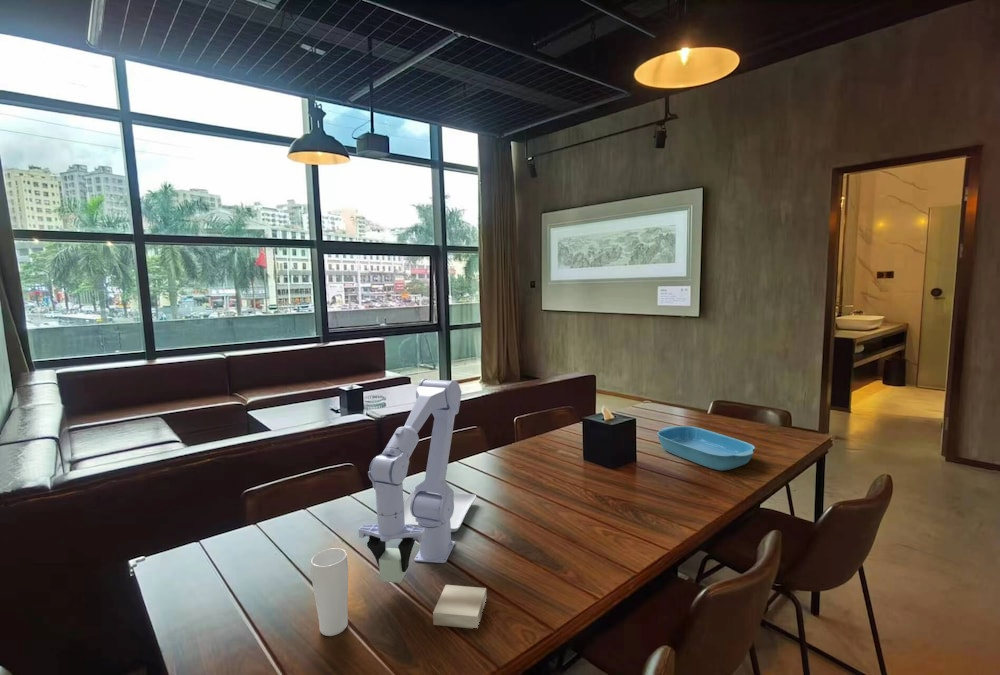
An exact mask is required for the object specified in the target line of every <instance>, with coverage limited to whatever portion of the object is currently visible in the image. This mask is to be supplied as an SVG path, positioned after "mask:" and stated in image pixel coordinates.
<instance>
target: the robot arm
mask: <svg viewBox="0 0 1000 675" xmlns="http://www.w3.org/2000/svg"><path fill="white" fill-rule="evenodd" d="M415 398H416V400H415V403H414V404H413V407H412V409H411V410H410V413H409V415H408V417H407V419H406V421H405V424H404V426H403V425H402V426H399V427H397V428H396V429H395V431H394V433H393V435H392V436H391V438H390V439H389V441H388V443H387V444H386V446H385V448H384V450H383V451H382V452H381V454H378V455H376V456H374V458H373V459H372V460H371V462H370V464H369V467H368V468H369V471H367V475H368V478H369V480H370V481H371V483H372V489H373V490H374V491H375V502H376V503H375V504H376V517H377V520H376V521H377V523H375V524H362V525H361V526H360V527H359V528H358V538H360V539H361V538H362V539H364V538H365V537H369V538H368V541H367V542H366V545H367V548H368V549H369V550H370V551H371V553H372V554H373V556H374V558H375V561H376V563H377V566H378V567H379V558H380V557H381V556H382V554H383V553H384V552H385V550H386V549H387V547H386V543H387V542H390V541H392V540H398V539H401V541H400V542H399V543H398V546H397V548H399V551H400V555H401V567H402V572H406V570H407V569H408V570H409V564H410V557H411V554H412V550H413V548H414V545H415V542H416V540H417V542H418V544H419V545H418V546H419V550H418V552H417V554H416V555H415V557H414V559H413V560H414V562H421V563H437V564H446V562H447V561H448V559H449V556H450V554H451V552H452V550H453V548H454V546H455V544H456V541H454V540H452V532H451V523H450V519H451V517H452V515H453V512H454V493H455V491H454V489H452V488H451V486H449V484H448V483H447V482H446V478H447V472H448V463H449V456H450V450H451V444H452V437H453V430H454V426H455V425H454V424H455V417H456V415H458V414H459V412H460V406H461V399H462V390H461V387H460V384H459V382H458V381H457V380H453V379H452V380H446V379H445V380H443V379H442V380H441V379H430V378H423V379H421V380H420V381H419V383H418V385H417V387H416V389H415ZM431 414H432V416H433V418H434V420H433V425H432V432H431V438H430V445H429V451H428V458H427V464H426V471H425V475H424V476H425V478H424V480H423V481H421V482H420V483H418V484H417V485H416V486H415V488H414V490H415V492H414V495H413V497H412V499H411V503H410V511H411V514H412V516H413V517H415V519H416V522H418V527H419V528H417V527H414V526H410V525H407V524H405V519H404V490H403V489H404V486H403V482H404V480H405V479H406V477H407V475H408V471H409V470H408V469H409V465H410V461H411V460H410V457H411V456H412V455H413V452H414V450H415V448H416V446H417V445H418V443H419V441H420V437H419V434H418V433H419V432H420V430H421V429H422V428H423V426H424V424H425V423H426V421H427V420H428V418H429V417H430V415H431ZM427 492H433V493H438V494H440V495H437V494H431V493H427Z"/></svg>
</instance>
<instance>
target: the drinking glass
mask: <svg viewBox="0 0 1000 675" xmlns="http://www.w3.org/2000/svg"><path fill="white" fill-rule="evenodd" d="M347 555H348V554H347V551H346V550H345V549H343V548H339V547H338V548H337V547H335V548H334V547H333V548H327V549H324V550H321V551H318V552H317V553H316V554H314V556H312V557H311V560H310V567H311V568H310V570H311V571H310V572H311V583H312V589H313V594H314V600H315V607H316V612H317V617H318V618H317V619H318V626H319V632H320V634H322V635H323V636H327V637H333V636H337V635H339V634H341V633H342V632H344V631H345V629H347V626H348V624H349V616H348V615H349V614H348V609H349V608H348V605H349V604H348V603H349V602H348V600H349V597H348V596H349V564H348V563H349V562H348V556H347Z"/></svg>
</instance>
